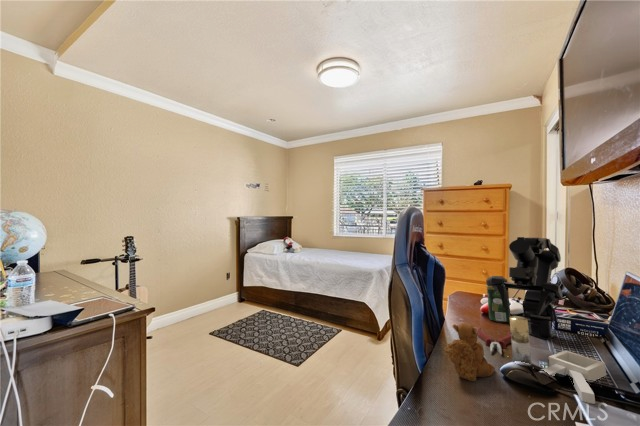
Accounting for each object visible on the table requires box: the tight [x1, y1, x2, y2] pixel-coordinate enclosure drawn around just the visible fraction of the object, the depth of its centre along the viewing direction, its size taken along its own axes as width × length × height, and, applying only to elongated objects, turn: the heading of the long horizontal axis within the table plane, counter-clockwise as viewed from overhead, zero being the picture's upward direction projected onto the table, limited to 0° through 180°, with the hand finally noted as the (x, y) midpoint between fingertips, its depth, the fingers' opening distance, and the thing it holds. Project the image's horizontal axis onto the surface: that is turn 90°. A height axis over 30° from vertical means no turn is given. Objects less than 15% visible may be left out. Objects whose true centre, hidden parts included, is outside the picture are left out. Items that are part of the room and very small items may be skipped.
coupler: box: [509, 315, 532, 365], centre depth 81 cm, size 4×4×13 cm
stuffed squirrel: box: [443, 322, 495, 382], centre depth 76 cm, size 10×14×13 cm
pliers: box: [477, 327, 512, 356], centre depth 94 cm, size 12×20×3 cm, turn 149°
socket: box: [541, 349, 607, 405], centre depth 70 cm, size 20×13×4 cm, turn 113°
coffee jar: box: [485, 275, 512, 323], centre depth 118 cm, size 10×8×19 cm
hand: (520, 311), depth 87 cm, fingers open, 9 cm apart
